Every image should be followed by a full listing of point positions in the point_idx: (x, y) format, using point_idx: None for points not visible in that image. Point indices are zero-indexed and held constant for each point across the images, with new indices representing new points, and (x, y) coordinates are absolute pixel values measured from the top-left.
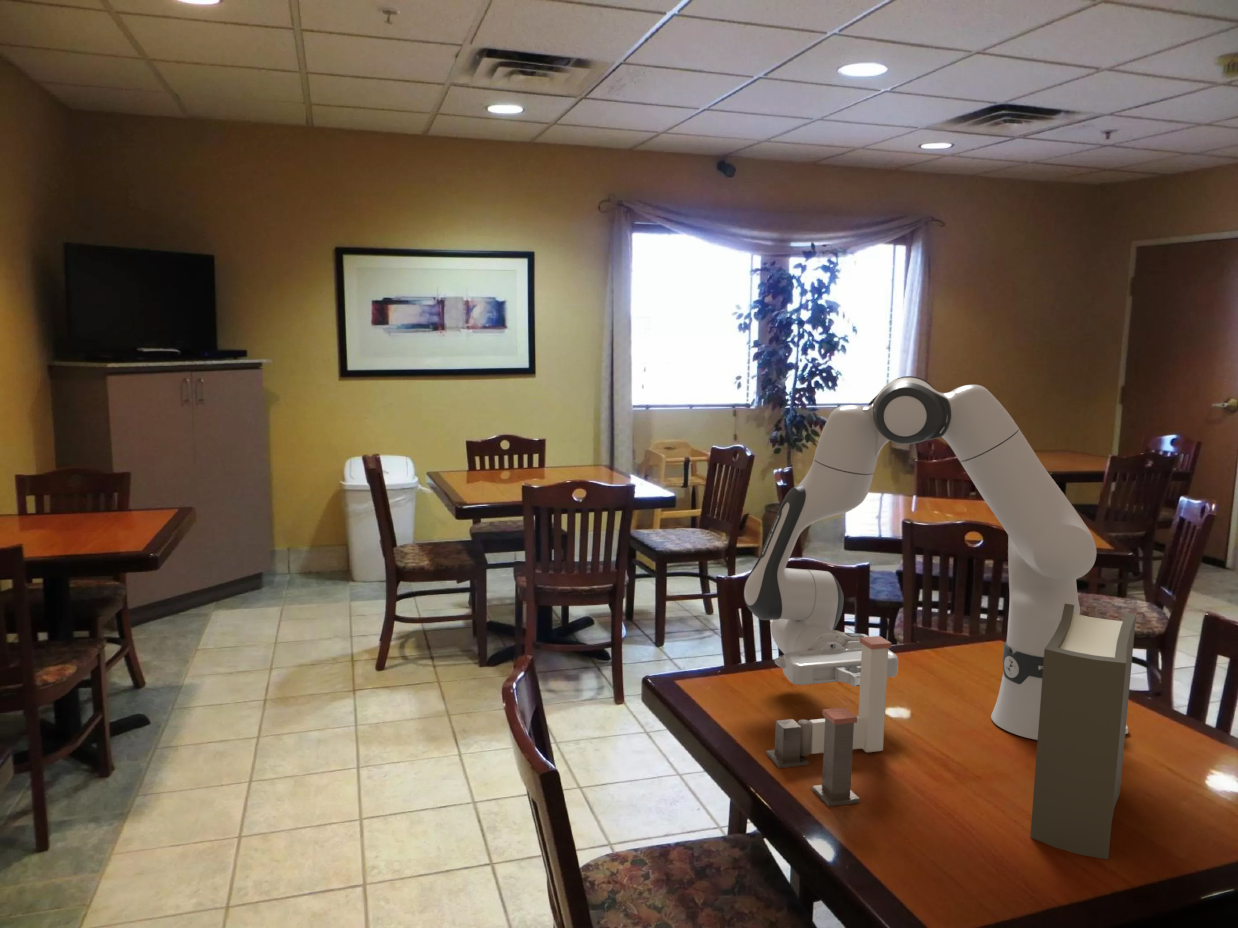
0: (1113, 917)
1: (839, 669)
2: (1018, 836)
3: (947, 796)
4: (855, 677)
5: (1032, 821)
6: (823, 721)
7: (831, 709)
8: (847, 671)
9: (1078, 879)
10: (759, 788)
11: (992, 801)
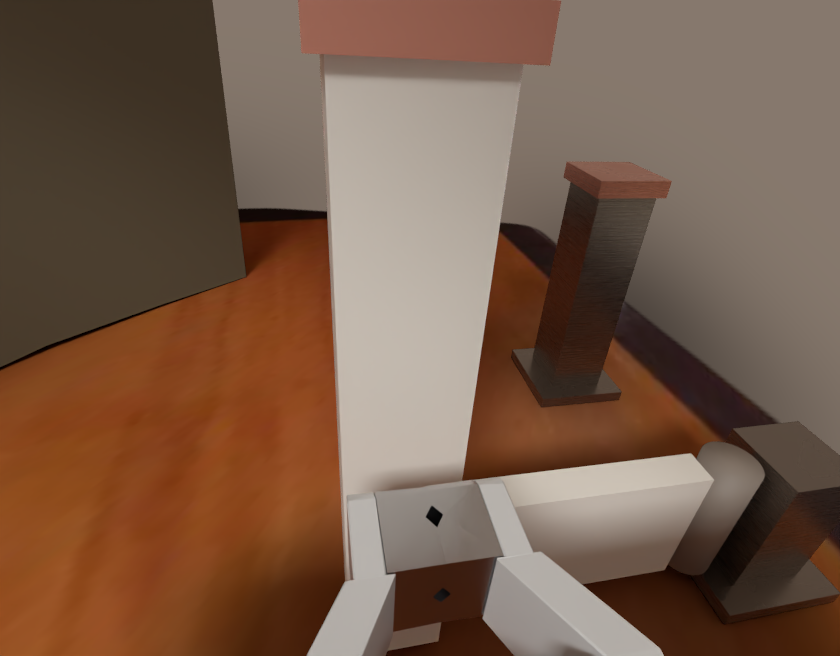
0: (284, 209)
1: (650, 652)
2: (264, 279)
3: (298, 360)
4: (488, 479)
5: (241, 249)
6: (644, 464)
7: (643, 180)
8: (551, 595)
9: (264, 233)
10: (753, 413)
11: (211, 342)
